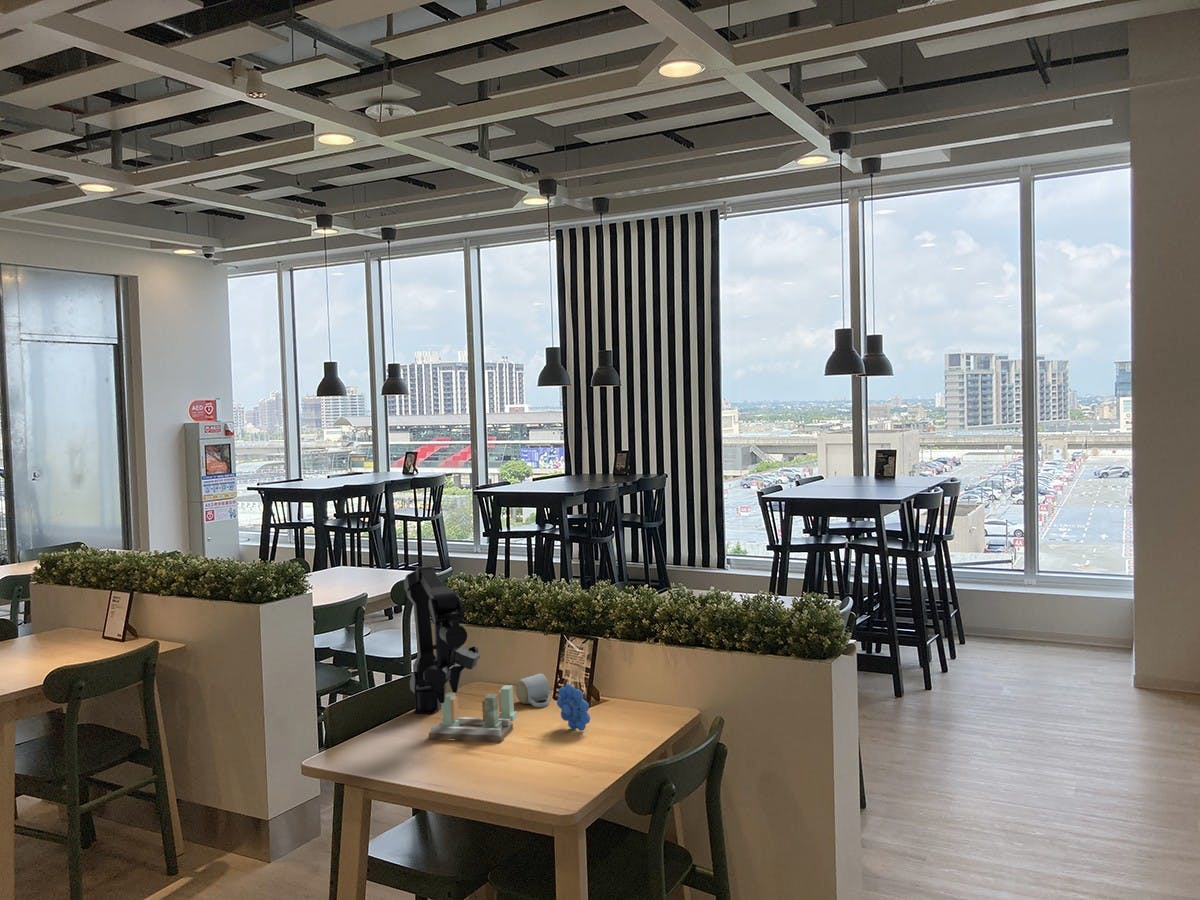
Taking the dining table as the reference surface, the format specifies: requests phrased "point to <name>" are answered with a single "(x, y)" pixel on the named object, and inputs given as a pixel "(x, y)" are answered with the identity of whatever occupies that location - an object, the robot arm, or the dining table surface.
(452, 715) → the stepped sage green block
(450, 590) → the robot arm
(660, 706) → the dining table surface
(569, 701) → the grapes
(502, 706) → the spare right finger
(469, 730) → the rail board
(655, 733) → the dining table surface
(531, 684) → the ceramic mug
